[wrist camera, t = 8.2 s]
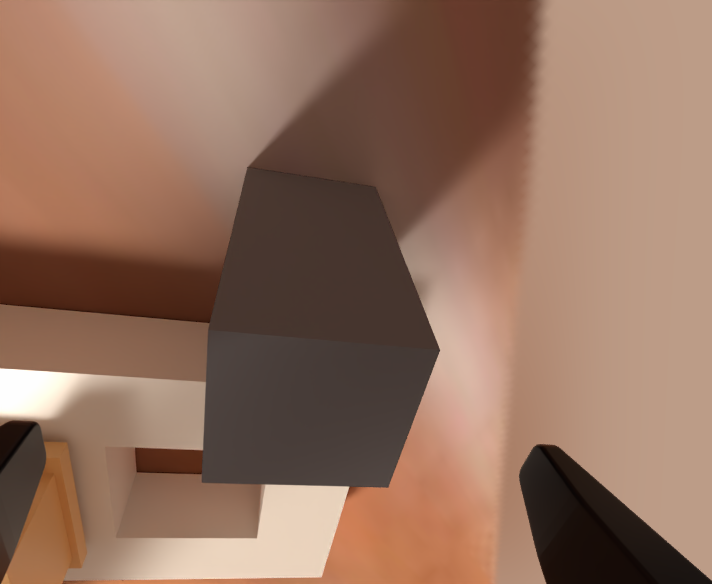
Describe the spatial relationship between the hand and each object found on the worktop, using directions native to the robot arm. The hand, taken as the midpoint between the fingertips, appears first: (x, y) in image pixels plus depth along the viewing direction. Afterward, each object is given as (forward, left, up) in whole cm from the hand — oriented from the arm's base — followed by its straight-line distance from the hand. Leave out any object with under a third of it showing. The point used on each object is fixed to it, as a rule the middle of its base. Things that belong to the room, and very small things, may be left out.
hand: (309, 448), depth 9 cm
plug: (0, 0, -9) cm, 9 cm away
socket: (-10, +6, -9) cm, 14 cm away
